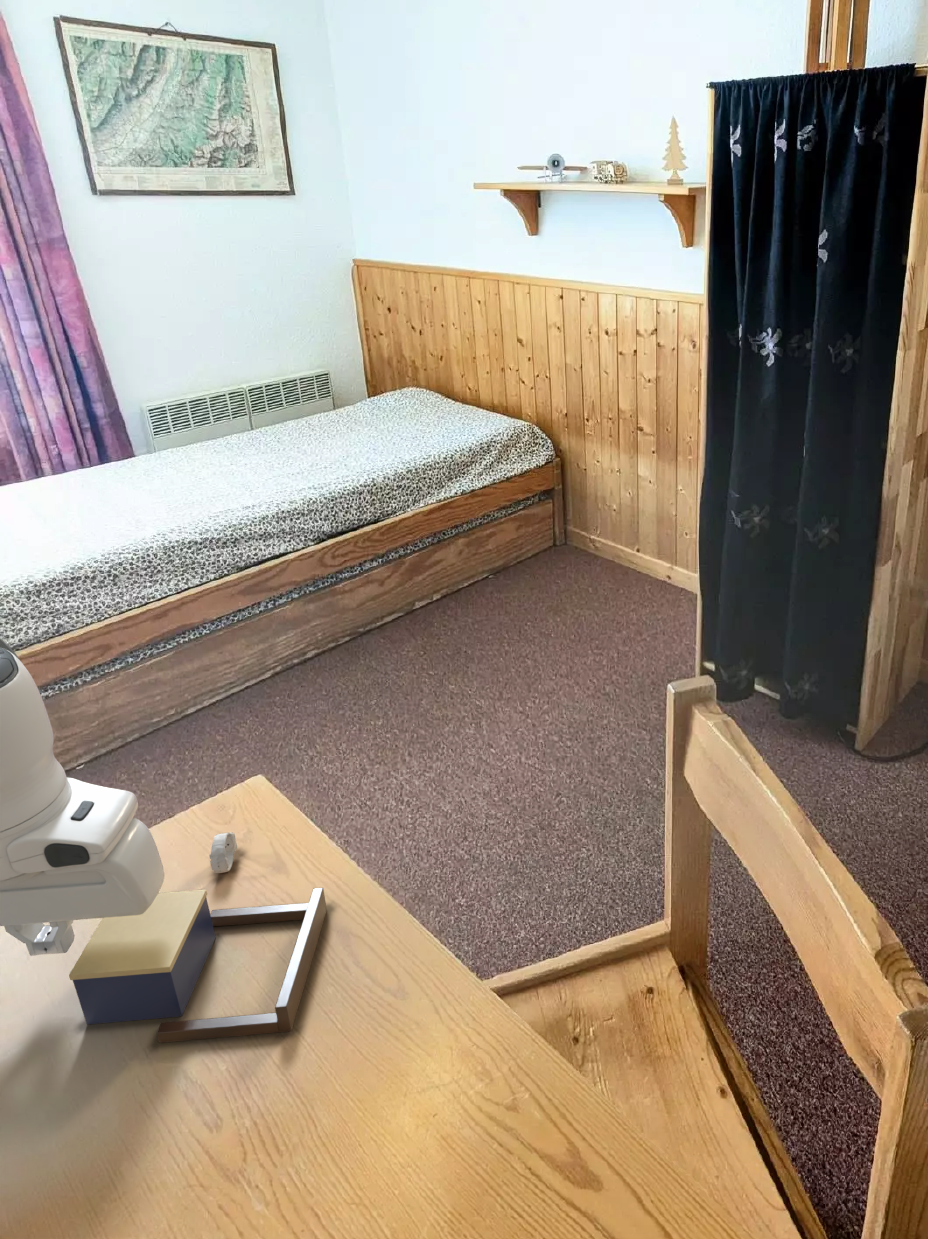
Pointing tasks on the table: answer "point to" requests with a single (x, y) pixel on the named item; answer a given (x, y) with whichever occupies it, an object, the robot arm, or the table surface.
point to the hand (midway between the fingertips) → (53, 948)
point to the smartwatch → (223, 852)
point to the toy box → (145, 960)
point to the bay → (291, 985)
